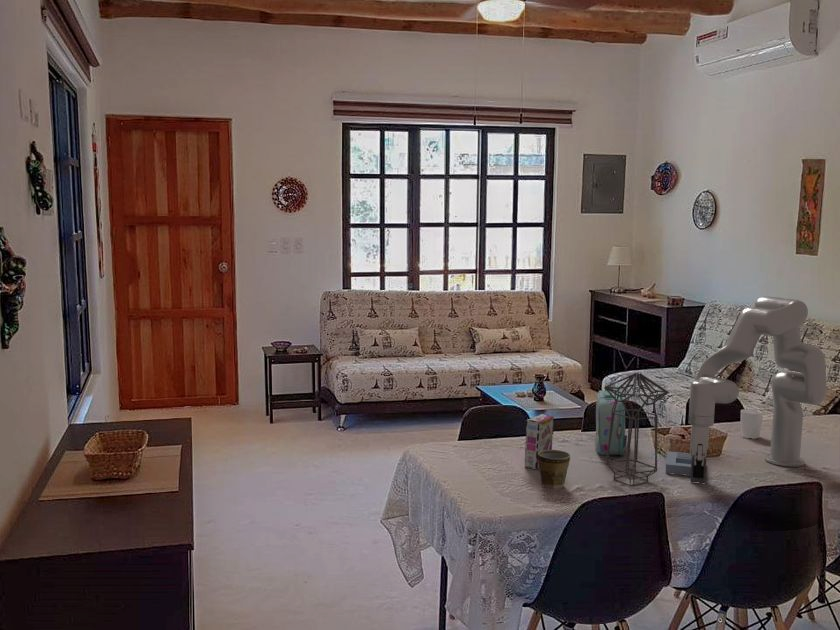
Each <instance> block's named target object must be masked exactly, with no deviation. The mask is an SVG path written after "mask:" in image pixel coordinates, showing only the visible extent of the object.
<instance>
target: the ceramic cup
mask: <svg viewBox="0 0 840 630" xmlns="http://www.w3.org/2000/svg"><path fill="white" fill-rule="evenodd" d="M570 460H571V454H570V453H569V452H567V451H564V450H558V449H552V450H543V451H540V452H538V462H539V467H540V468H539V473H540V479H541V480H540V481H541V485H542V486H543V485H544V486H543V487H545V488H546V487H548V488H547V489H552V488H558V489H562V488H563V487H564V486H565V482H566V478H567V472H568V469H569V465H570Z"/></svg>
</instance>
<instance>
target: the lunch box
mask: <svg viewBox="0 0 840 630" xmlns="http://www.w3.org/2000/svg"><path fill="white" fill-rule="evenodd" d="M619 391H620V392H622V390H621V389H620V390H619ZM610 392H611V391H610ZM611 394H612V395H613V396H614V397H615V395H614V393H612V392H611ZM617 394H618V393H617ZM619 395H620V393H619ZM621 398H622V400H624V399H623V398H624V397H621ZM616 399H617V395H616ZM618 400H620V397H619V398H618ZM614 402H615V400H614V399H613V397H612V396H611V395H610V394H609V393H608V392H607V390H598V393H597V394H596V402H595V403H596V404H595V405H596V406H595V426H596V427H595V437H594V442H595V449H596V451H597V453H598V454H599V455H606V456H607V452H608V442H609V433H610V423H611V414H612V412H613V411H614V408H613V405H614ZM615 403H616V402H615ZM614 407H615V405H614ZM612 408H613V411H612ZM619 410H626V409H625V407H624V405H623V403H622V402H617V405H616V409H615V411H619ZM611 411H612V412H611ZM615 413H617V414H620V415H624V416H626V411H621V412H615ZM617 414H615V415H614V422H613V429H612V436H611V443H610V450H609V456H610V455H611V456H615V455H616V456H623V455H624V452H625V448H627V441H628V434H626V417H623V416H620V415H617Z"/></svg>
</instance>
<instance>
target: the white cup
mask: <svg viewBox="0 0 840 630" xmlns="http://www.w3.org/2000/svg"><path fill="white" fill-rule="evenodd" d="M763 414H764V413H763V411H762V410H759V409H754V408H753V409H752V408H744V409H740V436H741V437H742V438H744V437H745V439H749V438H752V439H751V440H757V439H756V438H758V439H760V435H761V430H762V422H763V416H764V415H763Z"/></svg>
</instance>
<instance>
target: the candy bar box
mask: <svg viewBox="0 0 840 630" xmlns="http://www.w3.org/2000/svg"><path fill="white" fill-rule="evenodd" d="M554 417H555V416H553V415H550V414H549V415H548V414H543V413H541V414H538V415H536V416H534V417H531V418H529V419H526V427H525V428H526V429H525V446H524V466H526V467H525V468H527V467H530V468H529V469H531V468H534V469H533V470H535V469H537V470H538V468H539V469H540V467H539V462H538V452H540V451H543V450H553V438H554V437H553V433H554Z"/></svg>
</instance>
